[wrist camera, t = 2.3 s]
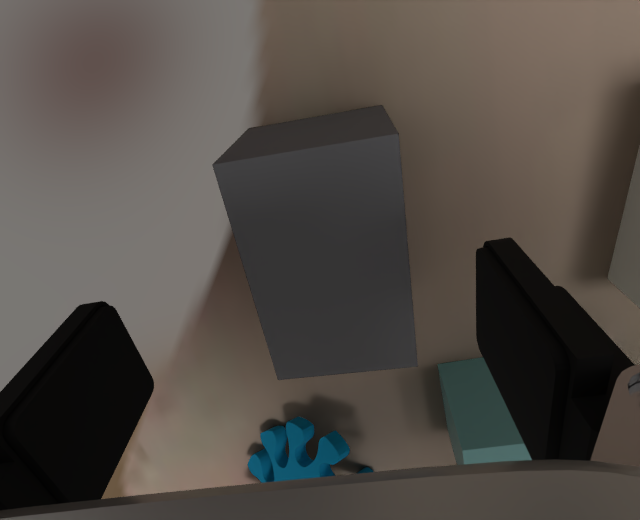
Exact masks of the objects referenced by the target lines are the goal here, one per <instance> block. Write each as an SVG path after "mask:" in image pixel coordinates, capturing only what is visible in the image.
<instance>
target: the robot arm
mask: <svg viewBox="0 0 640 520" xmlns="http://www.w3.org/2000/svg"><path fill="white" fill-rule="evenodd" d="M476 335H477V342H478V346H479V349H480V352H481V354H482V356H483V358H484V360H485V362H486V364H487V366H488V368H489V370H490V373H491V375H492V377H493V379H494V381H495V383H496V385H497V387H498V389H499V392H500V394H501V396H502V398H503V400H504V402H505V404H506V406H507V408H508V410H509V413H510V415H511V417H512V419H513V421H514V423H515V425H516V427H517V429H518V431H519V434H520V436H521V438H522V440H523V442H524V444H525V446H526V448H527V450H528V453H529V455H530V457H531V459H532V460H523V461H501V462H488V463H475V464H463V465H450V466H437V467H424V468H412V469H402V470H391V471H381V472H370V473H360V474H349V475H338V476H328V477H317V478H307V479H296V480H286V481H276V482H265V483H255V484H245V485H235V486H225V487H215V488H205V489H195V490H186V491H176V492H166V493H156V494H146V495H136V496H127V497H118V498H109V499H101V498H102V496H103V494H104V492H105V489H106V487H107V485H108V483H109V481H110V479H111V477H112V475H113V473H114V471H115V469H116V467H117V465H118V463H119V461H120V459H121V456H122V454H123V452H124V450H125V448H126V446H127V444H128V442H129V440H130V438H131V436H132V434H133V432H134V430H135V428H136V426H137V423H138V421H139V419H140V417H141V415H142V413H143V411H144V409H145V407H146V405H147V403H148V401H149V399H150V397H151V395H152V392H153V389H154V382H153V378H152V376H151V374H150V372H149V371H148V369H147V367H146V365H145V363H144V361H143V359H142V357H141V356H140V354H139V352H138V350H137V348H136V347H135V345H134V343H133V341H132V339H131V337H130V335H129V333H128V331H127V329H126V328H125V326H124V324H123V322H122V320H121V318H120V316H119V314H118V313H117V311H116V309H115V308H114V307H113V306H109V305H108V304H107V303H106V302H103V301H101V302H95V303H89V304H83V305H80V306H78V307H77V308H76V309H75V310H74V312H73V313H72V314H71V315H70V316H69V317H68V318H67V319H66V320H65V321H64V322H63V323H62V325H61V326H60V327H59V328H58V329H57V330H56V331H55V333H54V334H53V335H52V336H51V337H50V338H49V339H48V340H47V341H46V342H45V343H44V345H43V346H42V347H41V348H40V349H39V350H38V351H37V352H36V353H35V354H34V356H33V357H32V358H31V359H30V360H29V361H28V362H27V363H26V364H25V365H24V367H23V368H22V369H21V370H20V371H19V372H18V373H17V374H16V375H15V376H14V378H13V379H12V380H11V381H10V382H9V383H8V384H7V385H6V387H5V388H4V389H3V390H2V391H1V392H0V520H640V365H634V364H633V363H632V362H631V360H630V359H629V358H628V357H627V356H626V355H625V354H624V353H623V352H622V351H621V350H620V348H619V347H618V346H617V345H616V344H615V343H614V342H613V341H612V340H611V339H610V338H609V336H608V335H607V334H606V333H605V332H604V331H603V330H602V329H601V328H600V327H599V326H598V324H597V323H596V322H595V321H594V320H593V319H592V318H591V317H590V316H589V315H588V314H587V312H586V311H585V310H584V309H583V308H582V307H581V306H580V305H579V304H578V303H577V302H576V300H575V299H574V298H573V297H572V296H571V295H570V294H569V293H568V292H567V291H566V290H565V289H564V288H563V287H560V286H554V285H553V284H552V283H551V282H550V281H549V280H548V278H547V277H546V276H545V275H544V274H543V273H542V272H541V271H540V269H539V268H538V267H537V266H536V265H535V264H534V263H533V262H532V260H531V259H530V258H529V257H528V256H527V255H526V254H525V253H524V251H523V250H522V249H521V248H520V247H519V246H518V245H517V243H516V242H515V241H514V240H513V239H512V238H504V239H498V240H491V241H486V242H485V243H484V246H483V248H479V249H477V251H476Z"/></svg>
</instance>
